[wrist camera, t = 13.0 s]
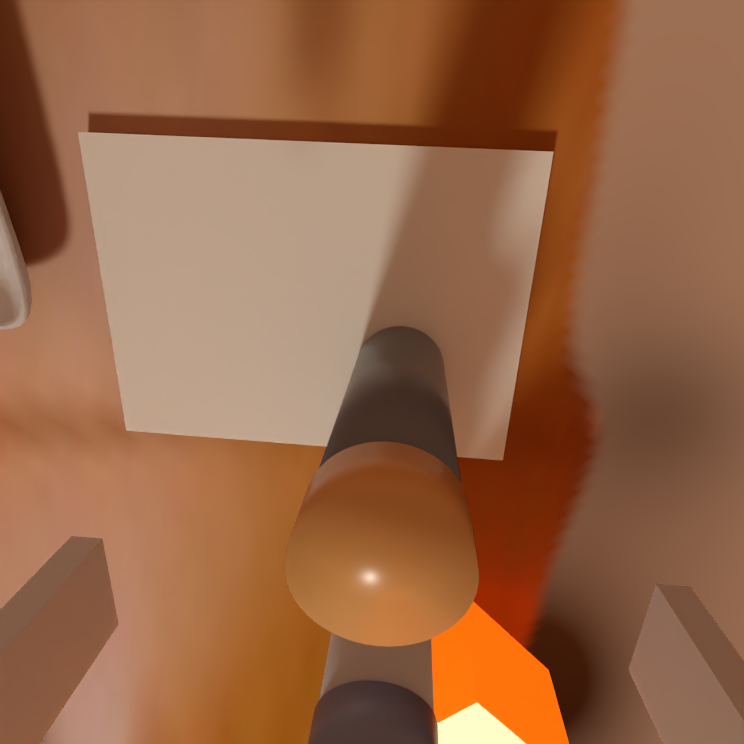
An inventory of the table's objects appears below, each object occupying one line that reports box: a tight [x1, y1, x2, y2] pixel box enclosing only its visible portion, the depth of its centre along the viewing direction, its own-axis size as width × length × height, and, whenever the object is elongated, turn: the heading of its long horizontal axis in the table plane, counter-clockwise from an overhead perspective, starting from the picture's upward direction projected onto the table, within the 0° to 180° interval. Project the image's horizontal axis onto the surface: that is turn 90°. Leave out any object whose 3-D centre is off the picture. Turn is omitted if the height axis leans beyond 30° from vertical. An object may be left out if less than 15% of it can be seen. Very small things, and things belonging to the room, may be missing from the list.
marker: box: [284, 326, 479, 647], centre depth 15 cm, size 4×4×12 cm
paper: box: [78, 132, 554, 460], centre depth 21 cm, size 18×13×1 cm
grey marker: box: [308, 633, 438, 744], centre depth 19 cm, size 4×4×12 cm
